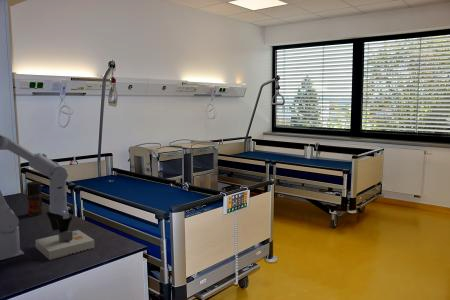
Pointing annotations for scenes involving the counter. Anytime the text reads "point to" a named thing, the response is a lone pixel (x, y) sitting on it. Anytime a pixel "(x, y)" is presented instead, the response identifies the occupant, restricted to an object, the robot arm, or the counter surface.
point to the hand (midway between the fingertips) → (59, 232)
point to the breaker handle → (65, 236)
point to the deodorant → (34, 198)
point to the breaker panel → (64, 245)
